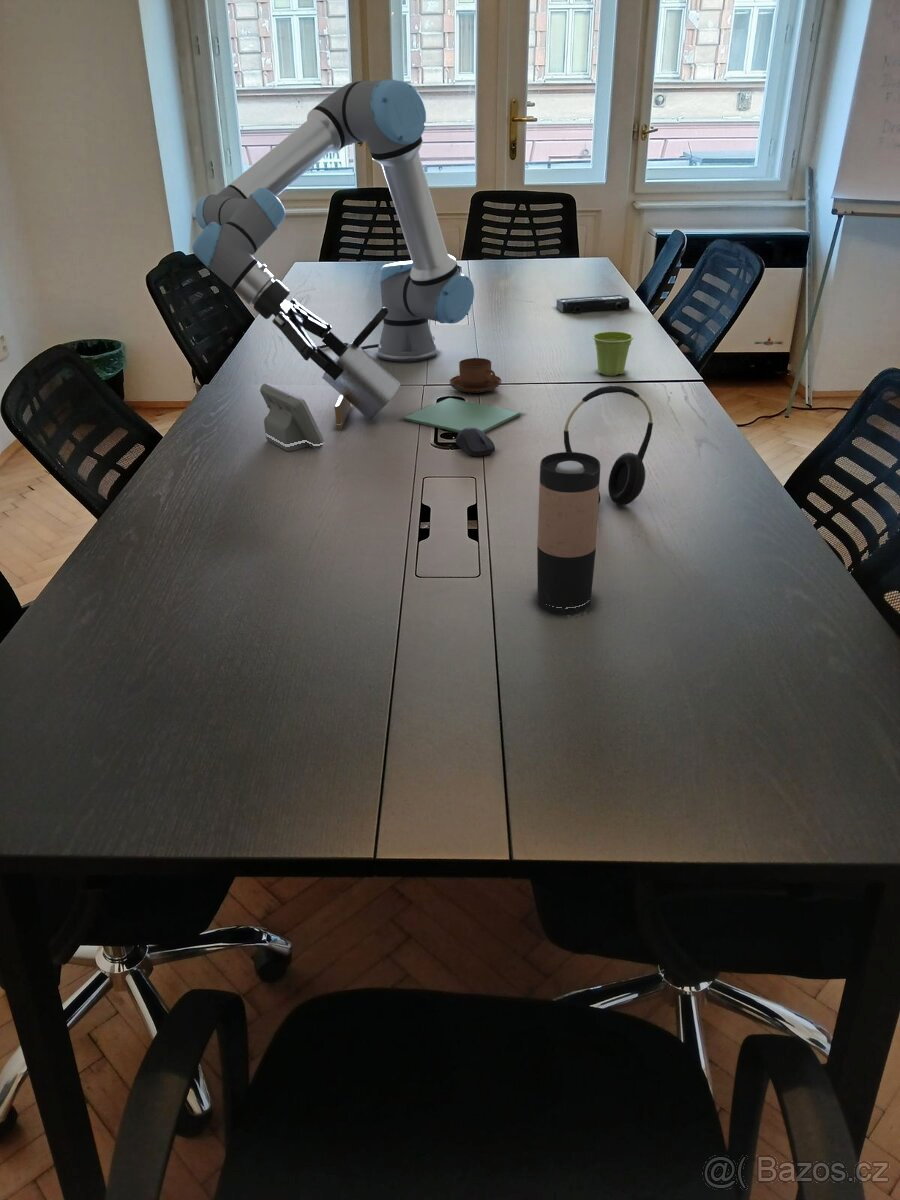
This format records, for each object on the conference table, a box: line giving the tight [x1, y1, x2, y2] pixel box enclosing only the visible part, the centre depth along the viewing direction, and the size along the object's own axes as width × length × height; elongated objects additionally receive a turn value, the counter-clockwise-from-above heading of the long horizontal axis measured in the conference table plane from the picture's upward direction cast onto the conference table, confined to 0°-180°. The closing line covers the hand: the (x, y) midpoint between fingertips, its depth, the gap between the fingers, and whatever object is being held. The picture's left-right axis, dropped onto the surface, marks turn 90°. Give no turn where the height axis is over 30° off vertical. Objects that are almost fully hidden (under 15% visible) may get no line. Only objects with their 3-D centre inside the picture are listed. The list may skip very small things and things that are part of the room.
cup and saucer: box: [449, 357, 502, 394], centre depth 203 cm, size 12×12×6 cm
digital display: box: [555, 294, 631, 314], centre depth 272 cm, size 21×3×10 cm
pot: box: [321, 307, 401, 420], centre depth 182 cm, size 16×10×23 cm, turn 88°
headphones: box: [563, 385, 654, 506], centre depth 141 cm, size 9×15×20 cm, turn 101°
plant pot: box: [592, 331, 634, 377], centre depth 210 cm, size 9×9×9 cm
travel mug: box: [536, 451, 601, 615], centre depth 114 cm, size 8×8×20 cm
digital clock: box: [259, 383, 325, 452], centre depth 174 cm, size 16×9×11 cm, turn 26°
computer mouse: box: [455, 427, 496, 457], centre depth 169 cm, size 6×9×4 cm, turn 27°
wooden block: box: [334, 393, 352, 430], centre depth 187 cm, size 1×14×5 cm, turn 178°
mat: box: [403, 397, 521, 434], centre depth 187 cm, size 19×16×1 cm
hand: (344, 366), depth 183 cm, fingers open, 13 cm apart
